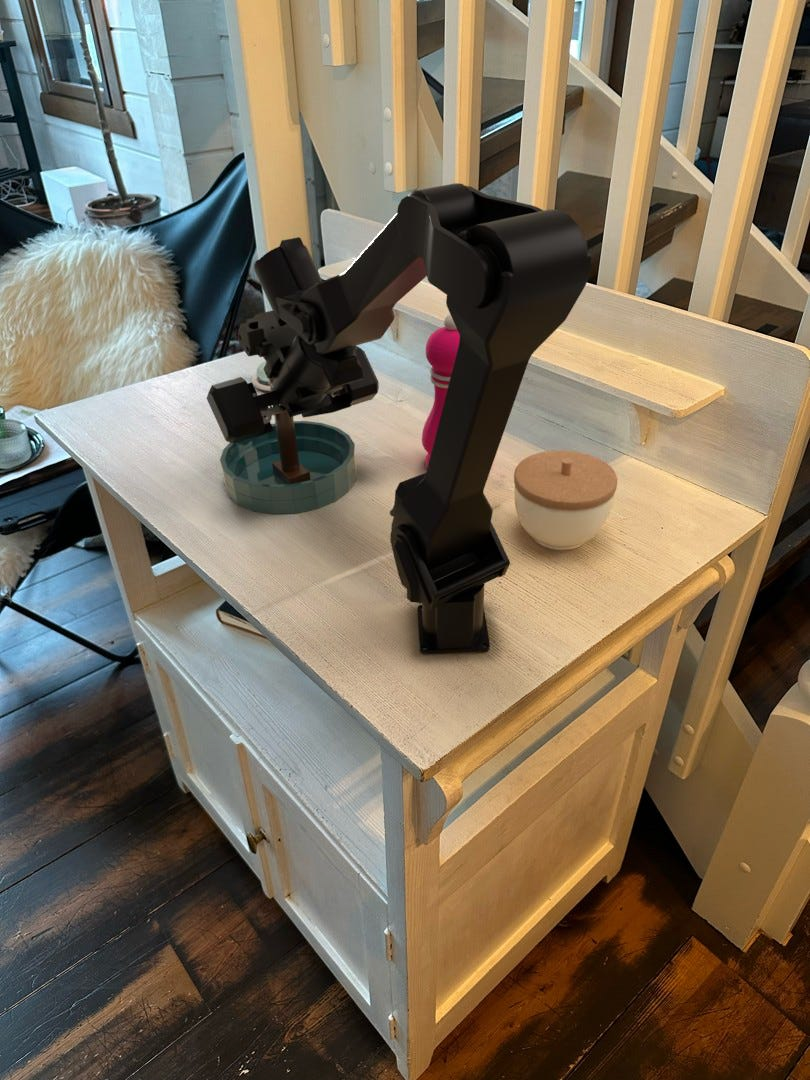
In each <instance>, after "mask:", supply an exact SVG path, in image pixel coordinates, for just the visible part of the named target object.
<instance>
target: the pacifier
mask: <svg viewBox="0 0 810 1080" xmlns="http://www.w3.org/2000/svg"><path fill="white" fill-rule="evenodd" d="M265 364H266V360H265V361H263V362H261V363H260V364H258V366H257V368H256V376H254V377H253V378H252V379H251V382H252V383H253V386H254V388H257V389H258V390H261V391H265V392H267V391H268V392H271V390H270V383H269V379H268V378H267V376H266V374H265V371H264V366H265ZM259 381H262V382H265V383H267V384H268V385H265V384H262V383H260V382H259Z"/></svg>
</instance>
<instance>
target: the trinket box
mask: <svg viewBox="0 0 810 1080" xmlns="http://www.w3.org/2000/svg"><path fill="white" fill-rule="evenodd" d="M513 483H514V487H513V489H514V492H513V493H514V494H513V495H514V507H515V511H516V515H517V518H518V521H519V523H520V524H521V526H522V528H523V529H524V531H525V532H527V534H528V535H529V536H531V537H532V539H533V540H534V541H535V543H537V544H538V545H540V546H542V547H544V548H547V549H551V550H554V551H571V550H574V549H577V548H579V547H581V546H583V545H584V544H585V543H587V542H588V541H590V540H591V539H593V538H595V536H596V535H598V534H599V532H600V531H601V530H602V529H603V527H604V526H605V524H606V523H607V521H608V519H609V516H610V514H611V510H612V508H613V504H614V499H615V494H616V491H617V488H618V477H617V473H616V471H615V470H614V469H613V468H612V466H611V465H610V464H608V463H607V462H605V461H604V460H602V459H601V458H599V457H597V456H594V455H591V454H589V453H585V452H581V451H575V450H567V449H564V450H563V449H555V450H545V451H541V452H536V453H534V454H531V455H528V456H527V457H525V458H523V459H522V460H521V461H520V462H519V463H518V464H517V465H516V466H515V468H514V472H513Z"/></svg>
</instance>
